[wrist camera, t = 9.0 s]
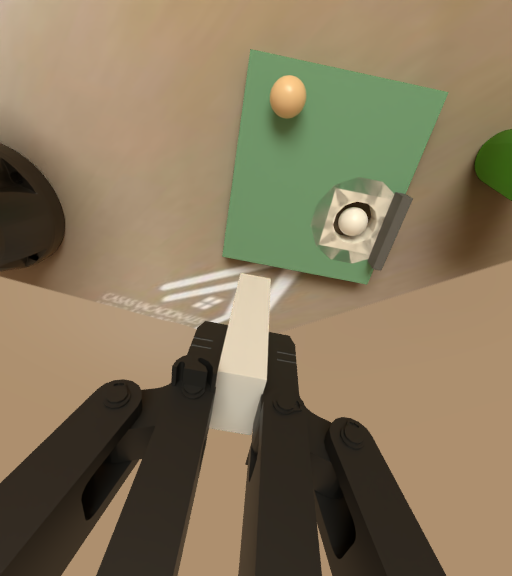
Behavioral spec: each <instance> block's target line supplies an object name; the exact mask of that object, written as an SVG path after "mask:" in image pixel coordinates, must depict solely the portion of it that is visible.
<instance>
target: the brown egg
mask: <svg viewBox="0 0 512 576" xmlns="http://www.w3.org/2000/svg"><path fill="white" fill-rule="evenodd" d="M305 102H306V89H305V86H304V84H303V83H302V81H301V80H300V79H299V78H297V77H295V76H292V75H286V76H283V77H281V78H279V79H278V80H277V81H276V82H275V83H274V85H273V87H272V89H271V92H270V104H271V107H272V109H273V111H274V112H275V113H276V114H277V115H278V116H279V117H282V118H286V119H287V118H293V117H295V116H296V115H298V114H299V113H300V112H301V111H302V109H303V107H304V105H305Z"/></svg>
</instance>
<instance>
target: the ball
mask: <svg viewBox="0 0 512 576" xmlns="http://www.w3.org/2000/svg"><path fill="white" fill-rule="evenodd" d="M367 224H368V217H367V214H366V213H365V212H364V211H363V210H362V209H360V208H358V207H350V208H347V209H346V210H344V211H343V212H342V213H341V215H340V217H339V220H338V225H339V228H340V230H341V231H342V232H343V233H344V234H346V235H348V236H356V235H359V234H361V233H362V232H363V231H364V230H365V229H366V227H367Z"/></svg>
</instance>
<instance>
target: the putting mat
mask: <svg viewBox="0 0 512 576" xmlns="http://www.w3.org/2000/svg"><path fill="white" fill-rule="evenodd" d="M286 75H292V76H295V77H297V78H299V79H300V80H301V81H302V83H303V84H304V86H305V89H306V102H305V105H304V107H303V109H302V111H301V112H300V113H299V114H298V115H296V116H295V117H293V118H287V119H286V118H282V117H279V116H278V115H277V114H276V113H275V112H274V111H273V109H272V107H271V104H270V92H271V89H272V87H273V85H274V83H275V82H276V81H277V80H278V79H279V78H281V77H283V76H286ZM447 95H448V92H445V91H440V90H436V89H431V88H427V87H422V86H417V85H413V84H408V83H404V82H399V81H394V80H390V79H385V78H381V77H376V76H371V75H367V74H362V73H358V72H353V71H349V70H344V69H339V68H335V67H330V66H326V65H321V64H316V63H312V62H307V61H303V60H298V59H293V58H289V57H284V56H280V55H275V54H270V53H266V52H261V51H257V50H252V49H250V57H249V64H248V71H247V79H246V86H245V93H244V101H243V108H242V115H241V123H240V130H239V137H238V145H237V152H236V159H235V167H234V174H233V182H232V189H231V196H230V204H229V211H228V218H227V226H226V233H225V240H224V248H223V255H222V257H227V258H232V259H238V260H243V261H248V262H253V263H258V264H263V265H269V266H274V267H279V268H284V269H289V270H294V271H300V272H305V273H310V274H315V275H320V276H326V277H331V278H336V279H341V280H346V281H351V282H357V283H362V284H368V281H369V279H370V277H371V274H372V272H373V270H374V269H375V270H382V268H383V266H384V263H385V261H386V259H387V257H388V254H389V252H390V250H391V248H392V245H393V243H394V241H395V238H396V236H397V234H398V232H399V229H400V227H401V225H402V222H403V220H404V218H405V216H406V213H407V211H408V209H409V207H410V204H411V202H412V200H413V198H411V197H409V196H408V195H406V192H407V189H408V187H409V185H410V182H411V180H412V177H413V175H414V173H415V170H416V168H417V166H418V163H419V161H420V159H421V156H422V154H423V152H424V149H425V147H426V144H427V142H428V140H429V137H430V135H431V133H432V130H433V128H434V126H435V123H436V121H437V118H438V116H439V114H440V111H441V109H442V107H443V104H444V102H445V100H446V97H447ZM354 202H362V203H367V204H368V205H369V206H370V212H371V217H370V220H369V223H368V225H367V227H366V229H365V230H364V231H363V232H362V233H361V234H359V235H356V236H345V235H340V234H338V233H337V232H336V231H335V230H334V226H333V223H334V220H335V217H336V214H337V213H338V212H339V211H340V210H341V209H342V208H343V207H344V206H345V205H348V204H351V203H354Z"/></svg>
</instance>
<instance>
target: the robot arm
mask: <svg viewBox="0 0 512 576" xmlns="http://www.w3.org/2000/svg"><path fill="white" fill-rule="evenodd" d="M63 235H64V216H63V212H62V208H61V205H60V202H59V200H58V198H57V196H56V194H55V192H54V190H53V188H52V187H51V185H50V184H49V182H48V181H47V180H46V178H45V177H44V176H43V175H42V173H41V172H40V171H39V170H38V169H37V168H36V167H35V166H34V165H33V164H32V163H31V162H29V161H28V160H27V159H26V158H25V157H23V156H22V155H20V154H19V153H18V152H16V151H14V150H13V149H11V148H9V147H7V146H5V145H3V144H0V271H6V270H12V269H19V268H25V267H29V266H32V265H34V264H37V263H38V262H40V261H42V260H44V259H45V258H47V257H49V256H50V255H52V254H53V253H54V252H55V251H56V250H57V248H58V247H59V245H60V244H61V241H62V239H63ZM270 282H271V279H270V278H264V277H259V276H254V275H249V274H243V273H241V274H240V278H239V282H238V286H237V291H236V295H235V299H234V303H233V308H232V312H231V316H230V320H229V325H224V324H218V323H213V322H208V321H205V322H204V323H203V324H201V325H200V326H199V327H198V328H197V330H196V333H195V336H194V339H193V341H192V344H191V346H190V349H189V352H188V354H187V355H186V356H183V357H181V358H179V359H178V360H176V362H175V363H174V365H173V366H172V382H171V383H170V384H169V385H166V386H164V387H161V388H156V389H146V390H141V389H140V387H139V385H137V384H136V383H134V382H133V381H129V380H114V381H111V382H109V383H106V384H104V385H103V386H101V387H100V388H99V389H97V390H96V391H95V392H94V393H93V394H92V395H91V396H90V397H89V398H88V399H87V400H86V401H85V402H84V403H83V404H82V405H81V406H80V407H79V408H78V409H77V410H75V412H73V413H72V414H71V415H70V416H69V417H68V418H67V419H66V420H65V421H64V422H63V423H62V424H61V425H60V426H59V427H58V428H57V429H56V430H55V431H54V432H53V433H52V434H51V435H50V436H49V437H48V438H47V439H46V440H44V442H42V443H41V444H40V446H38V447H37V448H36V449H35V450H34V451H33V452H32V453H31V454H30V455H29V456H28V457H27V458H26V459H25V460H24V461H23V462H22V463H21V464H20V465H19V466H18V467H17V468H16V469H15V470H14V471H13V472H12V473H10V474H9V476H7V477H6V478H5V479H4V480H3V481H2V482H1V483H0V576H61V575H62V573H63V572H64V570H65V569H66V567H67V566H68V564H69V563H70V561H71V560H72V558H73V557H74V555H75V554H76V552H77V551H78V550H79V548H80V546H81V545H82V543H83V542H84V541H85V539H86V538H87V536H88V535H89V533H90V532H91V530H92V529H93V527H94V526H95V524H96V523H97V521H98V520H99V518H100V517H101V516H102V514H103V513H104V511H105V510H106V508H107V507H108V505H109V504H110V502H111V500H112V499H113V498H114V496H115V494H116V493H117V492H118V490H119V489H120V487H121V486H122V484H123V483H124V482H125V480H126V478H127V477H128V475H129V474H130V473H131V471H132V470H133V468H134V467H135V465H136V464H137V462H138V461H139V459H142V461H141V464H140V466H139V469H138V471H137V474H136V477H135V479H134V481H133V484H132V487H131V489H130V492H129V494H128V497H127V499H126V502H125V504H124V507H123V509H122V512H121V514H120V517H119V520H118V522H117V524H116V527H115V530H114V532H113V535H112V537H111V540H110V542H109V545H108V547H107V550H106V552H105V555H104V557H103V560H102V563H101V565H100V568H99V570H98V573H97V575H96V576H177V575H178V570H179V566H180V561H181V557H182V552H183V547H184V543H185V538H186V534H187V529H188V524H189V520H190V514H191V510H192V506H193V501H194V497H195V492H196V487H197V482H198V478H199V473H200V469H201V464H202V459H203V455H204V450H205V446H206V440H207V434H208V430H209V428H212V429H218V430H224V431H229V432H235V433H241V434H247V435H251V434H252V430H253V434H252V443H251V447H250V450H249V454H248V457H247V460H246V465H248V471H247V481H246V493H245V505H244V516H243V528H242V540H241V551H240V563H239V574H238V576H322V572H321V562H320V553H319V541H318V531H317V524H318V528H319V531H320V534H321V538H322V542H323V545H324V549H325V552H326V555H327V559H328V562H329V566H330V569H331V572H332V576H446V574H445V572H444V571H443V568H442V567H441V565H440V563H439V561H438V559H437V557H436V555H435V553H434V552H433V550H432V548H431V546H430V544H429V542H428V540H427V539H426V537H425V535H424V533H423V531H422V529H421V527H420V525H419V523H418V522H417V520H416V518H415V516H414V514H413V512H412V510H411V509H410V507H409V505H408V503H407V501H406V499H405V498H404V495H403V493H402V492H401V490H400V488H399V486H398V484H397V482H396V480H395V478H394V477H393V475H392V473H391V471H390V469H389V467H388V465H387V463H386V462H385V460H384V458H383V456H382V455H381V453H380V450H379V448H378V447H377V445H376V443H375V441H374V439H373V437H372V436H371V434H370V433H369V431H368V430H367V429H366V428H365V427H364V426H363V425H362V424H360V423H359V422H357V421H355V420H353V419H351V418H345V417H341V418H338V419H335V420H334V421H333V422H332V423H331V422H329V421H327V420H325V419H323V418H320V417H318V416H317V415H315V414H313V413H312V412H310V411H309V410H308V409H307V408H306V407H305V405H304V403H303V401H302V400H301V398H300V396H299V388H298V376H297V365H296V356H295V355H296V352H295V344H294V343H293V341H292V340H291V338H290V336H288V335H282V334H277V333H271V332H269V308H270Z"/></svg>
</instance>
